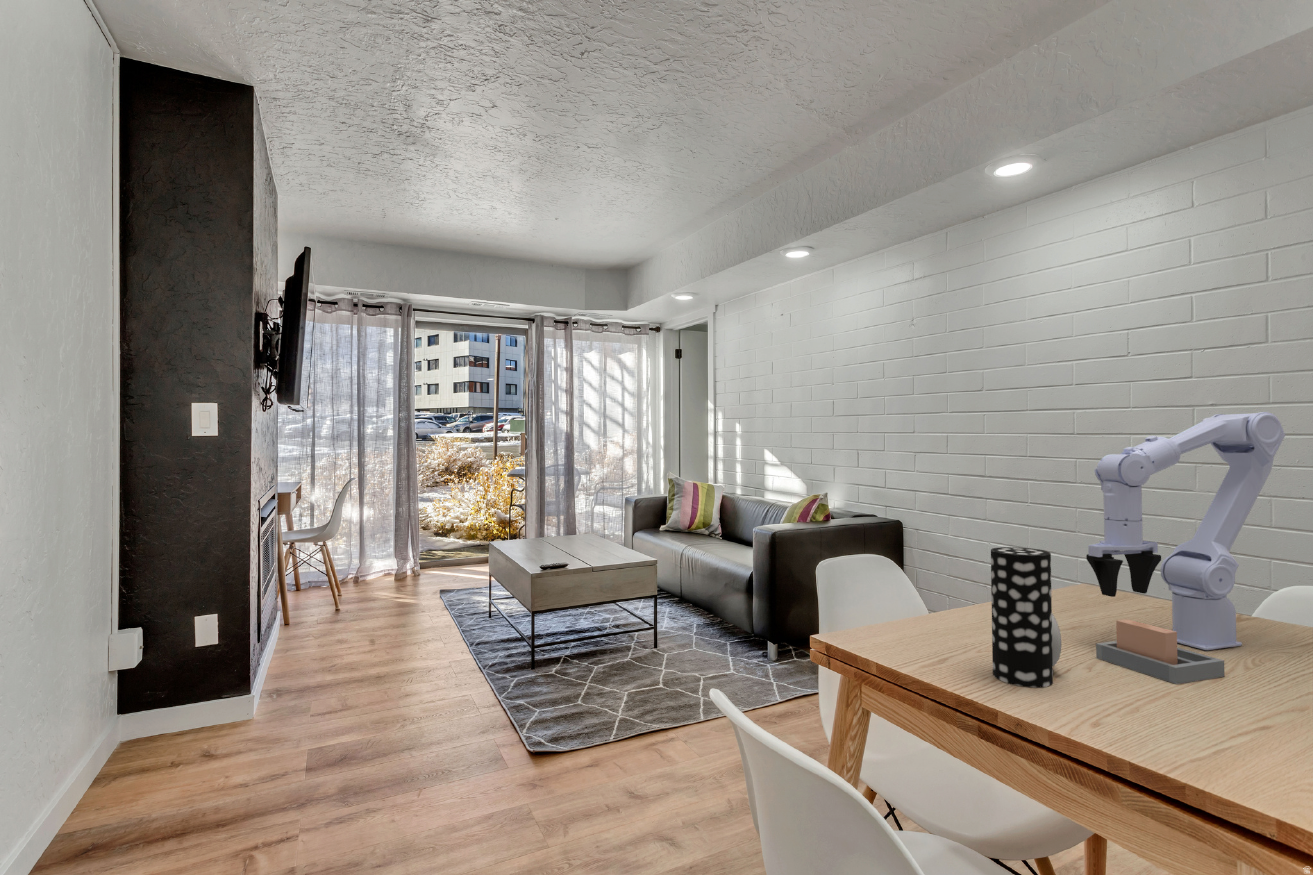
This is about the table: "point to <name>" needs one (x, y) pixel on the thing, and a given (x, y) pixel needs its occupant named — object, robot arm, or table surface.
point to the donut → (1055, 640)
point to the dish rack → (1164, 664)
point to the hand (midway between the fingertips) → (1124, 593)
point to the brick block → (1147, 640)
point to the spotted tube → (1022, 616)
